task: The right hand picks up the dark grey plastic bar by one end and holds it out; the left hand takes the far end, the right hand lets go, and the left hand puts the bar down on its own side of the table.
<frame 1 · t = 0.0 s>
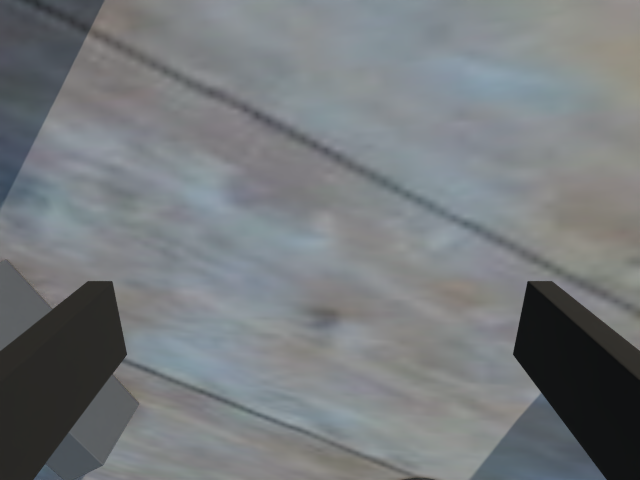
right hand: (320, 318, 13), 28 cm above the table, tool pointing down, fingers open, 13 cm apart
bar: (61, 345, 46), on the table
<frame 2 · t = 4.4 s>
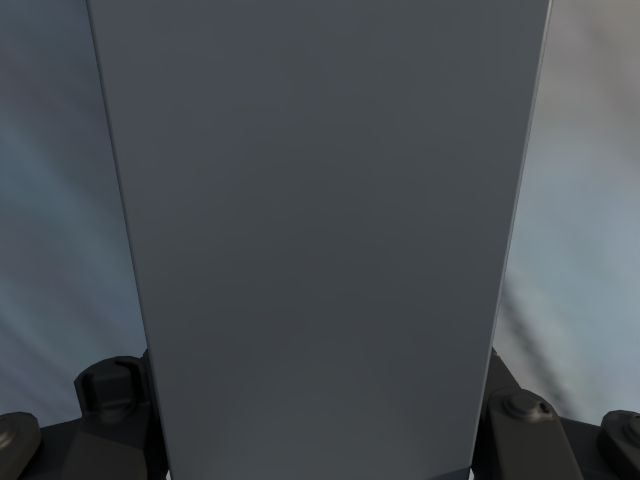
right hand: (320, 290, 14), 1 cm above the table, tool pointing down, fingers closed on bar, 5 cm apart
bar: (319, 45, 12), on the table, touching right hand
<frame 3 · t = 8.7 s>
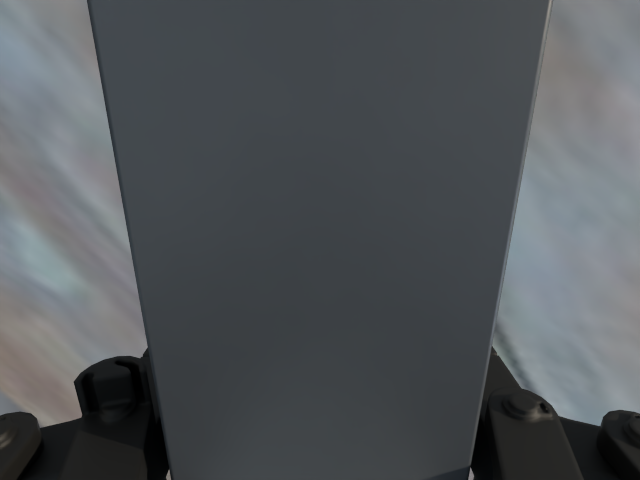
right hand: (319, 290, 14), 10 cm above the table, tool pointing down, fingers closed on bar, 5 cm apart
bar: (320, 45, 12), point 9 cm above the table, touching right hand, left hand
when the right hand's fingers open (10 cm above the table, at t = 9.7 s): bar stays where it is, held by the left hand.
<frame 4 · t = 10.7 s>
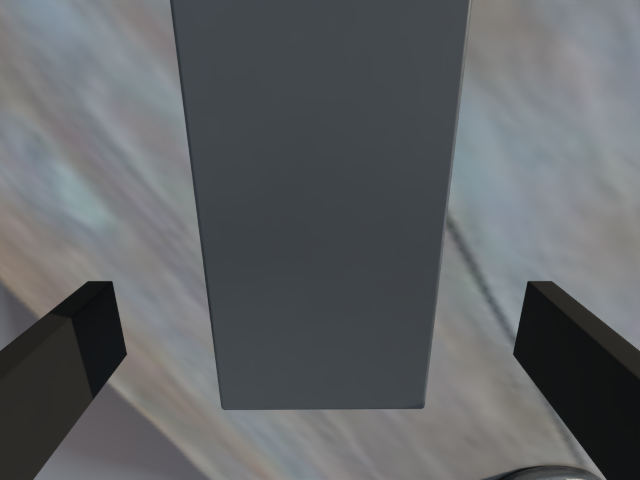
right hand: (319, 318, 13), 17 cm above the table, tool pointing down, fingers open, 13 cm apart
when the left hand's fingers open (6 cm above the table, at t = 17.3 s): bar drops 2 cm, on the table.
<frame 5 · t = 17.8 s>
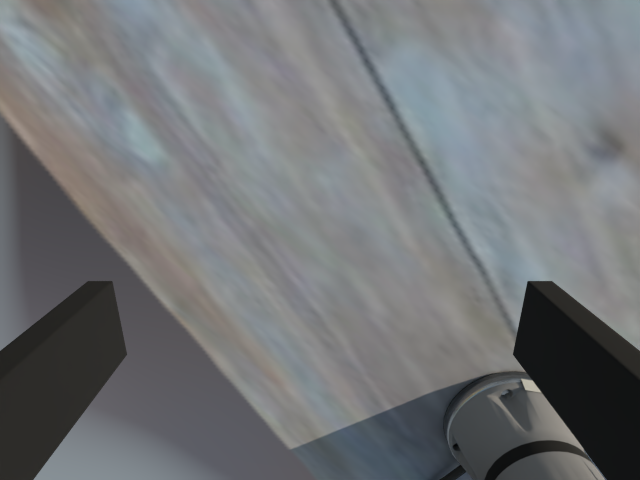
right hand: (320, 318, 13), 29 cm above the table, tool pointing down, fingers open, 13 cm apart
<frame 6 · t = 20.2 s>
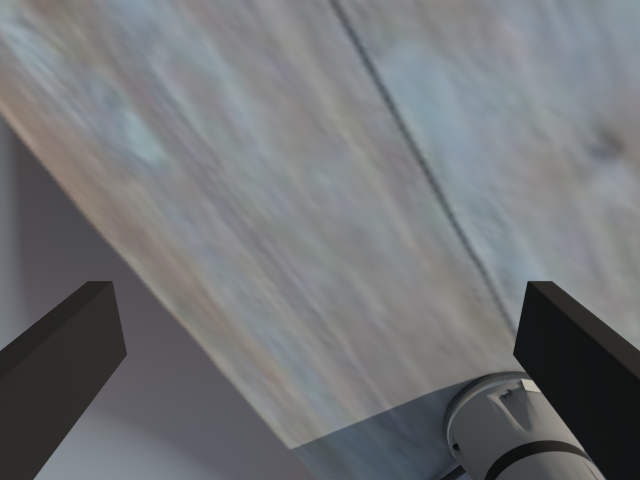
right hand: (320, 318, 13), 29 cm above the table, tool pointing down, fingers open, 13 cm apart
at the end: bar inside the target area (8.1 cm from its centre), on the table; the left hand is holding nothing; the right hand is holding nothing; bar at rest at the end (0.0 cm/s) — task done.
